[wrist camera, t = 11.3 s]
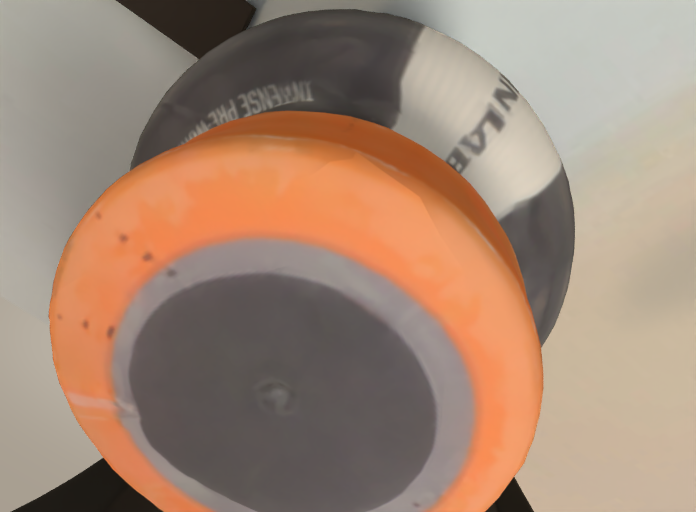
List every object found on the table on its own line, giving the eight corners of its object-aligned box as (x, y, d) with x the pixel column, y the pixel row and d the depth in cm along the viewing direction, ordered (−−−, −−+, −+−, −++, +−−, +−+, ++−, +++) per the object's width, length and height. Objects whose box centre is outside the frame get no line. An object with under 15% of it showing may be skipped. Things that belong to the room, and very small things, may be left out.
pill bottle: (426, -12, 12) (463, -393, 2) (525, 185, 14) (844, 568, 3) (246, 112, 14) (-234, 262, 4) (350, 274, 16) (214, 697, 5)
